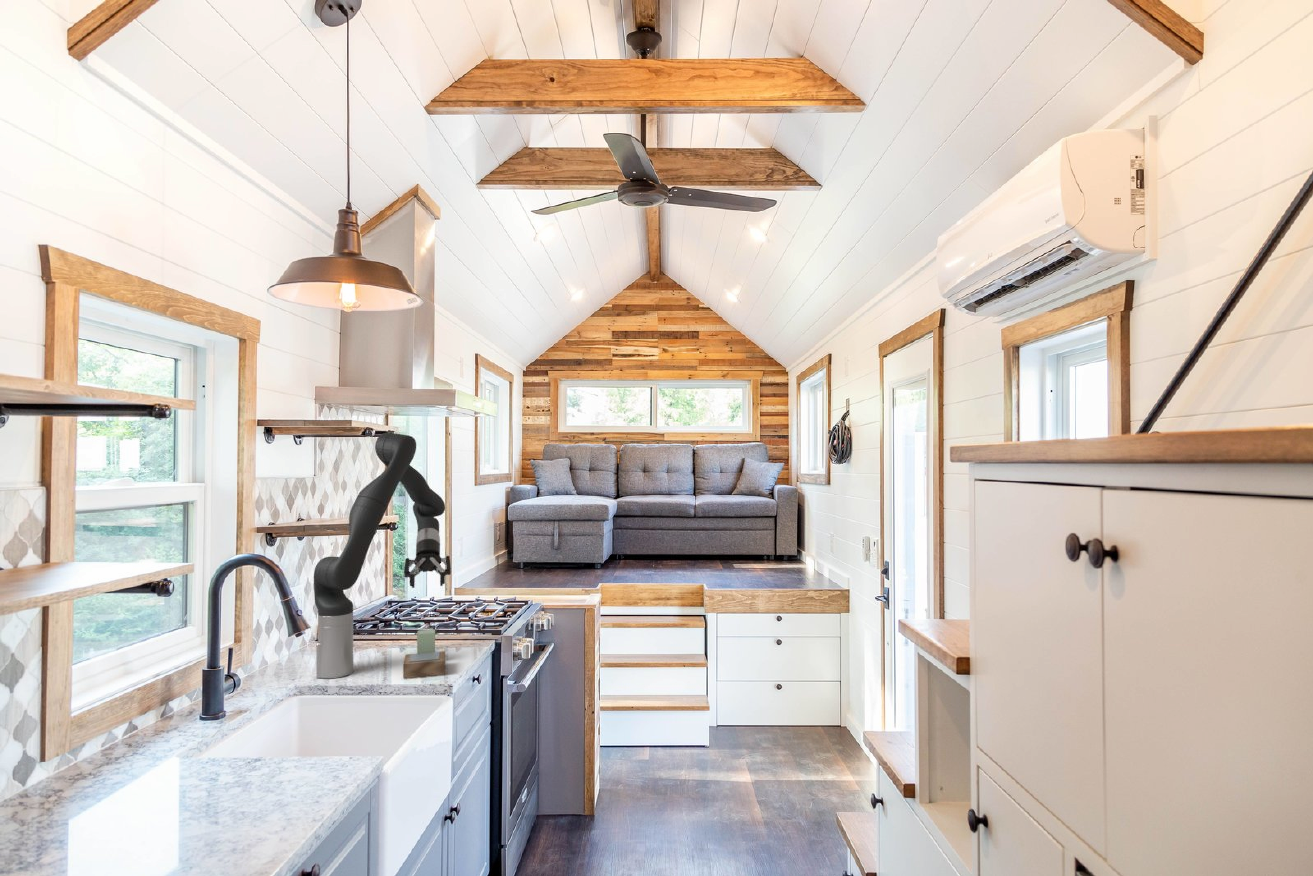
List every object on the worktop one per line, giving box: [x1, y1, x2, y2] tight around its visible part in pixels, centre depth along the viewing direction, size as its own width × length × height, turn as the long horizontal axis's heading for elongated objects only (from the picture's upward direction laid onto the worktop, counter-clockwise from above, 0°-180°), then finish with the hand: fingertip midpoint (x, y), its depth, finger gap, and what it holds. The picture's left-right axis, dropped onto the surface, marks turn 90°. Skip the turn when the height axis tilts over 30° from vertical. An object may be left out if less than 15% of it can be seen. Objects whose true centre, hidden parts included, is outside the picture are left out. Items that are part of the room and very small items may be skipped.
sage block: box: [416, 628, 436, 654], centre depth 215 cm, size 5×5×9 cm
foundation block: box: [402, 650, 446, 679], centre depth 204 cm, size 11×11×4 cm
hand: (427, 585), depth 226 cm, fingers open, 8 cm apart
